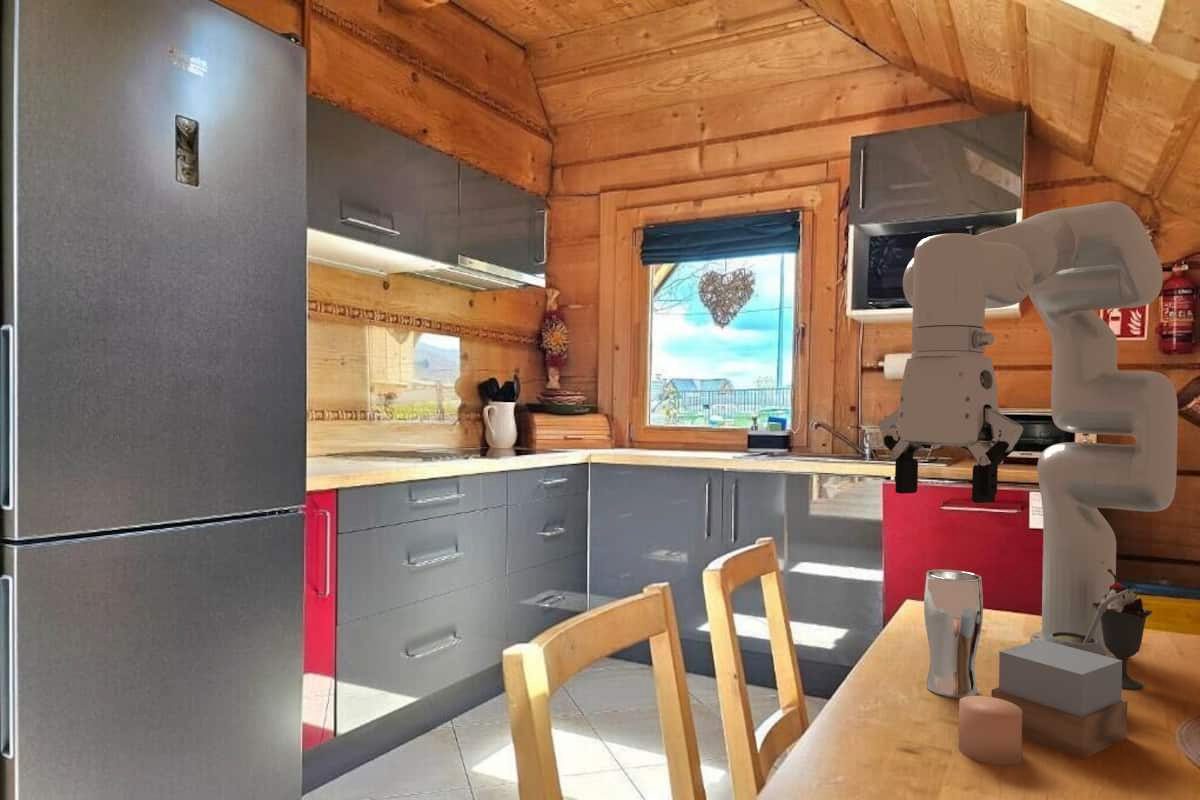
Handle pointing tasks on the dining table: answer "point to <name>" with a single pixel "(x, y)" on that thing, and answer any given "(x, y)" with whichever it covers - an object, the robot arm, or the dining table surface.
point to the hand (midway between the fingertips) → (943, 497)
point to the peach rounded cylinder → (990, 730)
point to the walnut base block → (1070, 726)
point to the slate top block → (1061, 677)
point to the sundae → (1123, 628)
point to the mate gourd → (1082, 640)
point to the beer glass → (953, 630)
